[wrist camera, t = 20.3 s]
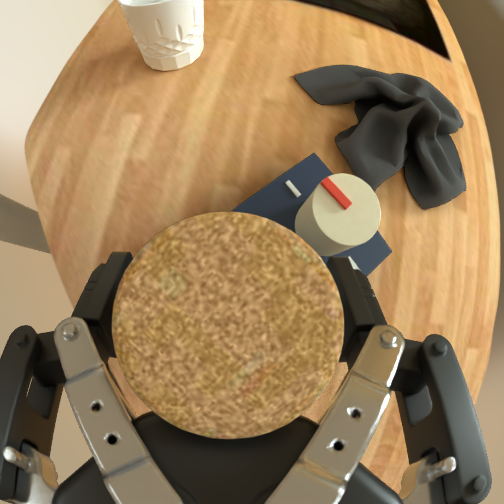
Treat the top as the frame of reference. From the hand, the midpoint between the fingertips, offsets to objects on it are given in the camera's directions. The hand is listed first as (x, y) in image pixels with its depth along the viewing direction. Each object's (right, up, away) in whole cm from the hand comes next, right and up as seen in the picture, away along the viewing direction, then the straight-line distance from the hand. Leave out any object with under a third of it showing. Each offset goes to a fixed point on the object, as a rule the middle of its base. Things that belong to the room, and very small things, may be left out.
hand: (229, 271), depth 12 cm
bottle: (-1, -3, +9) cm, 9 cm away
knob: (+6, +3, +10) cm, 12 cm away
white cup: (-8, +23, +15) cm, 28 cm away
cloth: (+16, +14, +15) cm, 26 cm away
